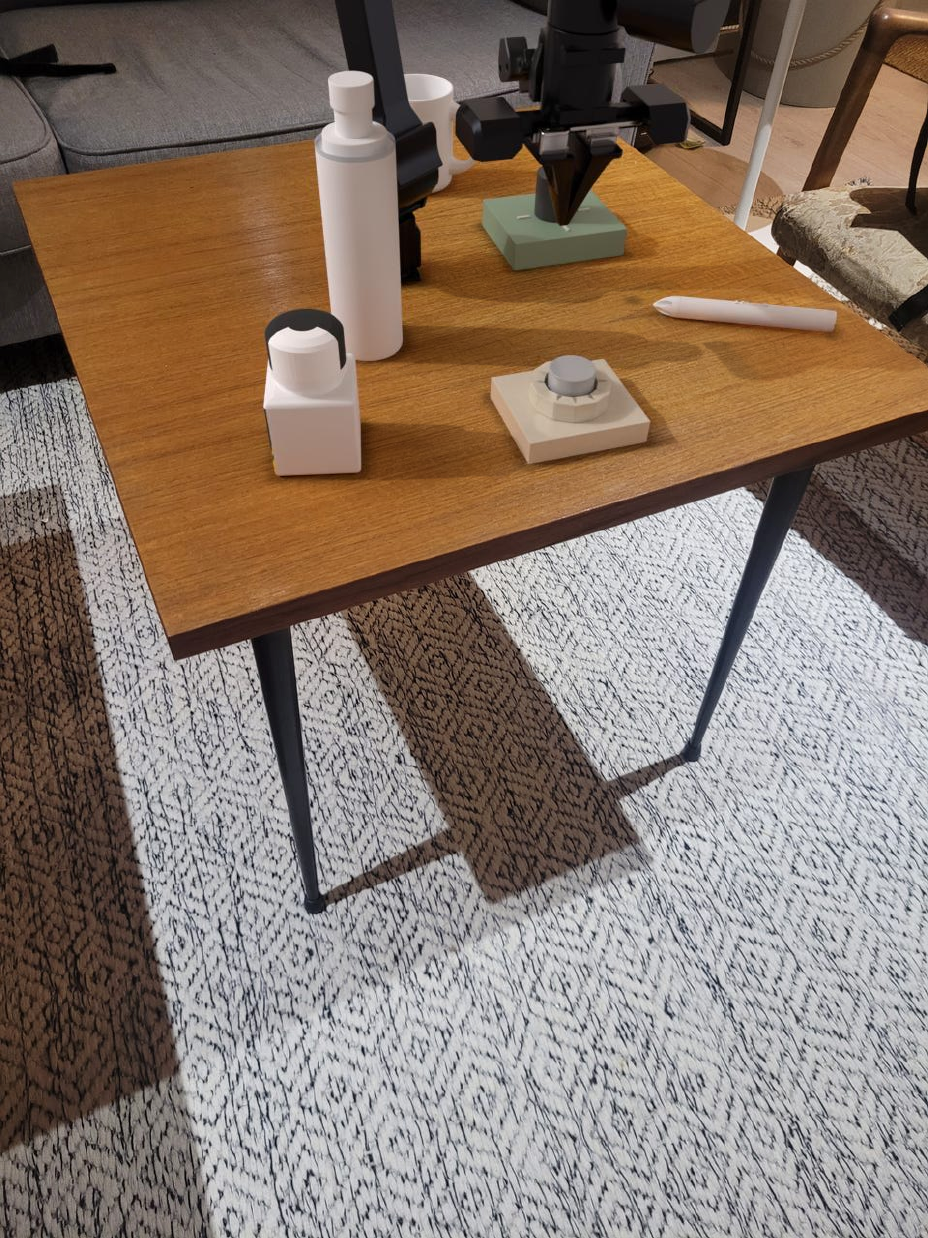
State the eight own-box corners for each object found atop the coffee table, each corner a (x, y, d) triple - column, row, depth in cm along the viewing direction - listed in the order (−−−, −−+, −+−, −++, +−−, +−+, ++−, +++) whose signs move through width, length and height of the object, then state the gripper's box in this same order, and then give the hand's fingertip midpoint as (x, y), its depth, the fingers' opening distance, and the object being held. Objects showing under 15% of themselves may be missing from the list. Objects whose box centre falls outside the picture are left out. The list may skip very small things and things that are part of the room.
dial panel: (513, 270, 100) (515, 242, 97) (481, 225, 106) (482, 197, 104) (623, 255, 102) (627, 227, 100) (585, 211, 109) (588, 184, 107)
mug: (469, 203, 110) (472, 107, 102) (374, 191, 112) (369, 95, 104) (485, 174, 116) (489, 80, 108) (394, 162, 117) (391, 69, 109)
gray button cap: (557, 402, 78) (559, 384, 76) (540, 376, 80) (542, 358, 79) (601, 394, 78) (603, 376, 77) (583, 368, 81) (585, 351, 80)
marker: (650, 319, 93) (654, 297, 92) (651, 308, 95) (654, 287, 93) (831, 336, 92) (838, 314, 90) (828, 325, 93) (836, 304, 92)
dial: (579, 219, 101) (584, 175, 98) (542, 224, 100) (545, 179, 97) (564, 202, 104) (569, 158, 100) (528, 206, 103) (531, 162, 99)
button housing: (528, 464, 78) (531, 425, 75) (490, 397, 84) (492, 359, 81) (646, 441, 80) (654, 403, 77) (600, 378, 86) (606, 340, 83)
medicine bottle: (279, 425, 81) (258, 299, 72) (360, 422, 81) (350, 296, 72) (275, 477, 76) (252, 349, 67) (361, 474, 76) (350, 346, 67)
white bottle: (407, 358, 88) (398, 68, 69) (337, 364, 87) (308, 72, 68) (397, 321, 92) (386, 39, 73) (331, 327, 91) (302, 42, 73)
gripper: (652, -16, 77) (622, 174, 89) (437, -3, 73) (436, 194, 85) (712, 27, 70) (672, 228, 82) (479, 44, 66) (472, 252, 78)
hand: (562, 223), depth 82 cm, fingers closed
